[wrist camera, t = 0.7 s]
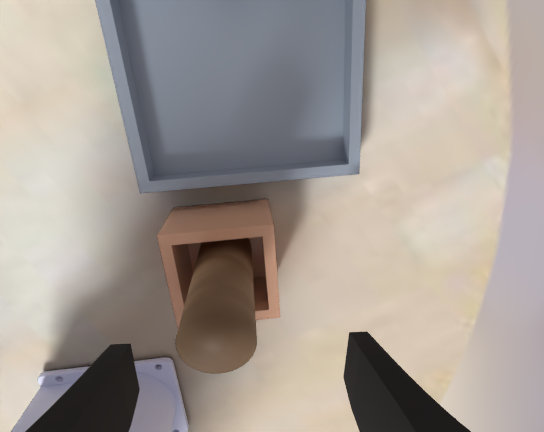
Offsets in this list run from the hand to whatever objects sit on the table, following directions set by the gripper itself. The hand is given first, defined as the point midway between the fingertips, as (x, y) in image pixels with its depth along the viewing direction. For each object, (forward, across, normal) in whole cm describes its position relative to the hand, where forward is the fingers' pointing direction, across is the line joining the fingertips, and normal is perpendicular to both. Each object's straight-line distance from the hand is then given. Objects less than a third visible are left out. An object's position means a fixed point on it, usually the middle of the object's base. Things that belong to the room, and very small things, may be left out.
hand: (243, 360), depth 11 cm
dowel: (+10, +1, +1) cm, 10 cm away
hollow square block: (+10, +1, +1) cm, 11 cm away
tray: (+11, 0, -8) cm, 14 cm away
